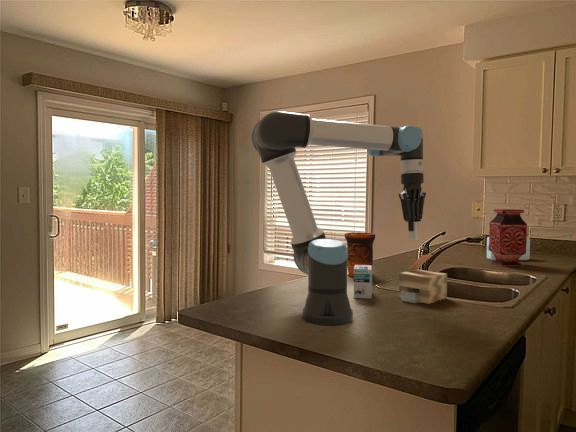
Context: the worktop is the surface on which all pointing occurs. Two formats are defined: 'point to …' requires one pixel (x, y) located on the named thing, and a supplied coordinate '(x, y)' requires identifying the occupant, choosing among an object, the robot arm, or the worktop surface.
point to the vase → (507, 237)
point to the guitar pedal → (523, 257)
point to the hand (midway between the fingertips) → (413, 240)
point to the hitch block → (424, 284)
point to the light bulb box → (363, 281)
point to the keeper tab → (419, 262)
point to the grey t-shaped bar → (410, 296)
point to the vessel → (359, 250)
